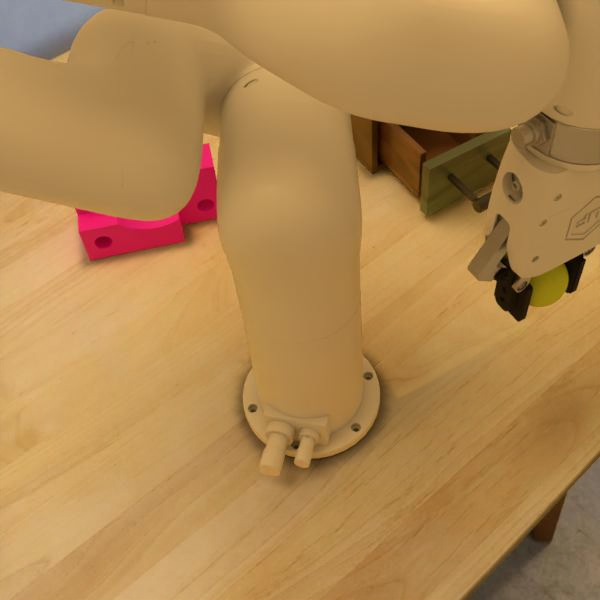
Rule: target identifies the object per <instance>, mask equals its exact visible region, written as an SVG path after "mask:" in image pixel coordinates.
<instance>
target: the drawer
mask: <svg viewBox="0 0 600 600" xmlns="http://www.w3.org/2000/svg"><path fill="white" fill-rule="evenodd" d="M511 130H512V128H507V129H503V130H499V131H494V132H484V133H455V132H443V131H436V130H429V129H423V128H417V127H411V126H405V125H399V124H393V123H386V122H381V121H378V158H379V159H380V160H381V161H382V162H383V163H384V164H385V165H386V166H387V167H386V168H387V169H388V170H390V172H392V174H394V175H395V177H397V179H399V180H400V182H401V183H402V184H403V185H404V186H405V187H407V189H409V191H411V192H412V194H414V196H416V198H418V199H420V206H419V211H420V212H421V213H422V214H424V216H425V217H428V216H431V215H433V214H434V213H437V212H438V211H440V210H443V209H444V208H447V207H448V206H450V205H452V204H454V203H456V202H458V201H461V200H462V199H464V198H467V199H468V201H470V202H471V204H472V205H471V206H472V208H473V210H474V211H475V212H476V214H481V213H483V212H485V211H487V210H488V205H489V201H490V197H491V193H492V190H491V191H489V192H488V193H485V194H484V195H482V196H480V197H478V196H477V194H475V193H477V192H478V191H480V190H482V189H484V188H486V187H488V186H490V185H492V184H494V182H495V179H496V176H497V173H498V170H499V167H500V164H501V161H502V159H503V156H504V153H505V151H506V148H507V146H508V143H509V141H510V139H511Z"/></svg>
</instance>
